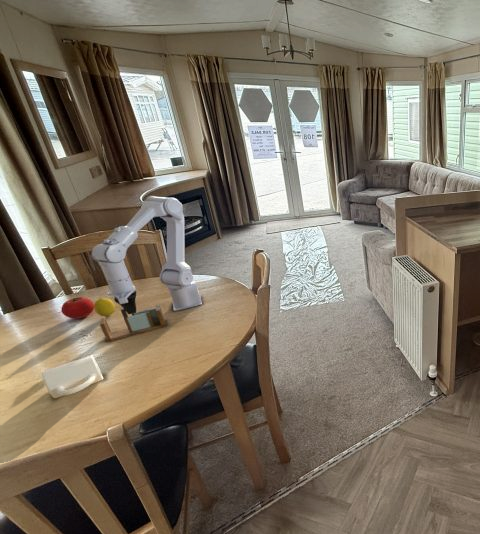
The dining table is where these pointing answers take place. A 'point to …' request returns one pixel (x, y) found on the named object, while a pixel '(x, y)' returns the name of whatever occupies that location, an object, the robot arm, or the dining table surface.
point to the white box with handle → (72, 376)
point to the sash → (137, 321)
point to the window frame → (157, 320)
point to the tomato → (77, 307)
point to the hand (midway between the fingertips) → (132, 312)
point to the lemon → (104, 307)
